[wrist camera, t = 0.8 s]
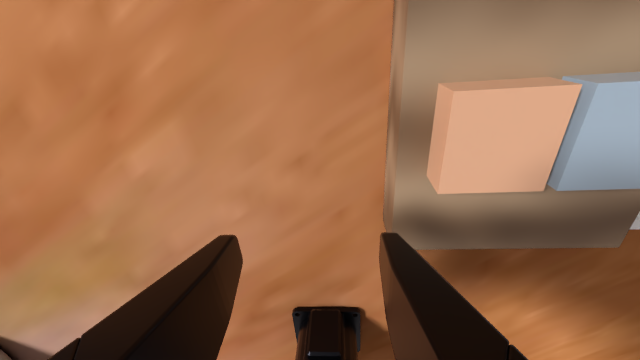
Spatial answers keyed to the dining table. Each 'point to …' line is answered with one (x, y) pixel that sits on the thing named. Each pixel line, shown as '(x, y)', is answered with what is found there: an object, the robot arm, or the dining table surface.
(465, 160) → the terracotta tile
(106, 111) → the dining table surface
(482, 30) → the walnut board
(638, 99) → the slate tile
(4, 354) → the canister
